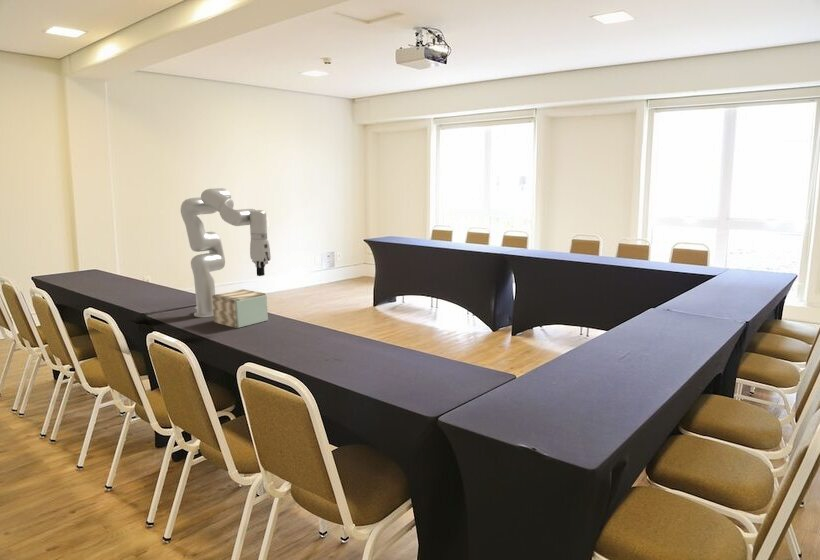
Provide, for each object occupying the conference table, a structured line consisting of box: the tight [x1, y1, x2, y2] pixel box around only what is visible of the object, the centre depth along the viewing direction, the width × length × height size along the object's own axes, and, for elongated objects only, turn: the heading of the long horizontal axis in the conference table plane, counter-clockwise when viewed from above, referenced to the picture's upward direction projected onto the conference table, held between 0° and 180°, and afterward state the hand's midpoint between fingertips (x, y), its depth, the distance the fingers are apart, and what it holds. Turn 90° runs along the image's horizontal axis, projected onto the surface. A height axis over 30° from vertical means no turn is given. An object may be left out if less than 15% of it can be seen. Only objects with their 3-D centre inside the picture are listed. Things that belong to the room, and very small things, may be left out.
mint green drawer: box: [235, 294, 269, 329], centre depth 281 cm, size 17×17×12 cm
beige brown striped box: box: [212, 288, 267, 329], centre depth 282 cm, size 18×18×14 cm
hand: (260, 275), depth 271 cm, fingers closed
